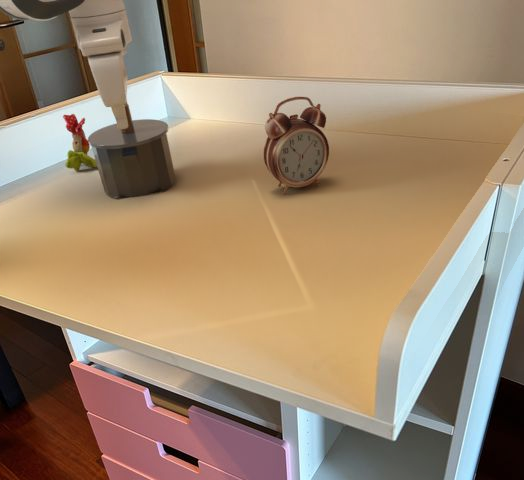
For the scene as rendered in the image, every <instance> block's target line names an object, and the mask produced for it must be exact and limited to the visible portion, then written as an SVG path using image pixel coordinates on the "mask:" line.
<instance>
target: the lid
mask: <svg viewBox="0 0 524 480" xmlns="http://www.w3.org/2000/svg"><path fill="white" fill-rule="evenodd" d="M124 106H125V112H126V116H127V120H128V128H127V129H119V128H118V126H117V122H116V123H113V124H109V125H106V126H103V127H101V128H99V129H97V130H95V131H94V132H92V133H91V134H90V135H89V136H88V137H87V140H88V142H89V145H90V147H91V146H92V147H95V148H100V149H120V148H128V147H133V146H138V145H142V144H145V143H148V142H151V141H154V140H156V139H158V138H160V137H162V136H164V135H165V134H167V133H168V132H169V125H168V123H167V122H165V121H164V120H160V119H152V118H151V119H149V118H145V119H144V118H142V119H133V117H132V114H131V109H130V105H129V104H128V103H127V104H124ZM92 147H91V148H92Z"/></svg>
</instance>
